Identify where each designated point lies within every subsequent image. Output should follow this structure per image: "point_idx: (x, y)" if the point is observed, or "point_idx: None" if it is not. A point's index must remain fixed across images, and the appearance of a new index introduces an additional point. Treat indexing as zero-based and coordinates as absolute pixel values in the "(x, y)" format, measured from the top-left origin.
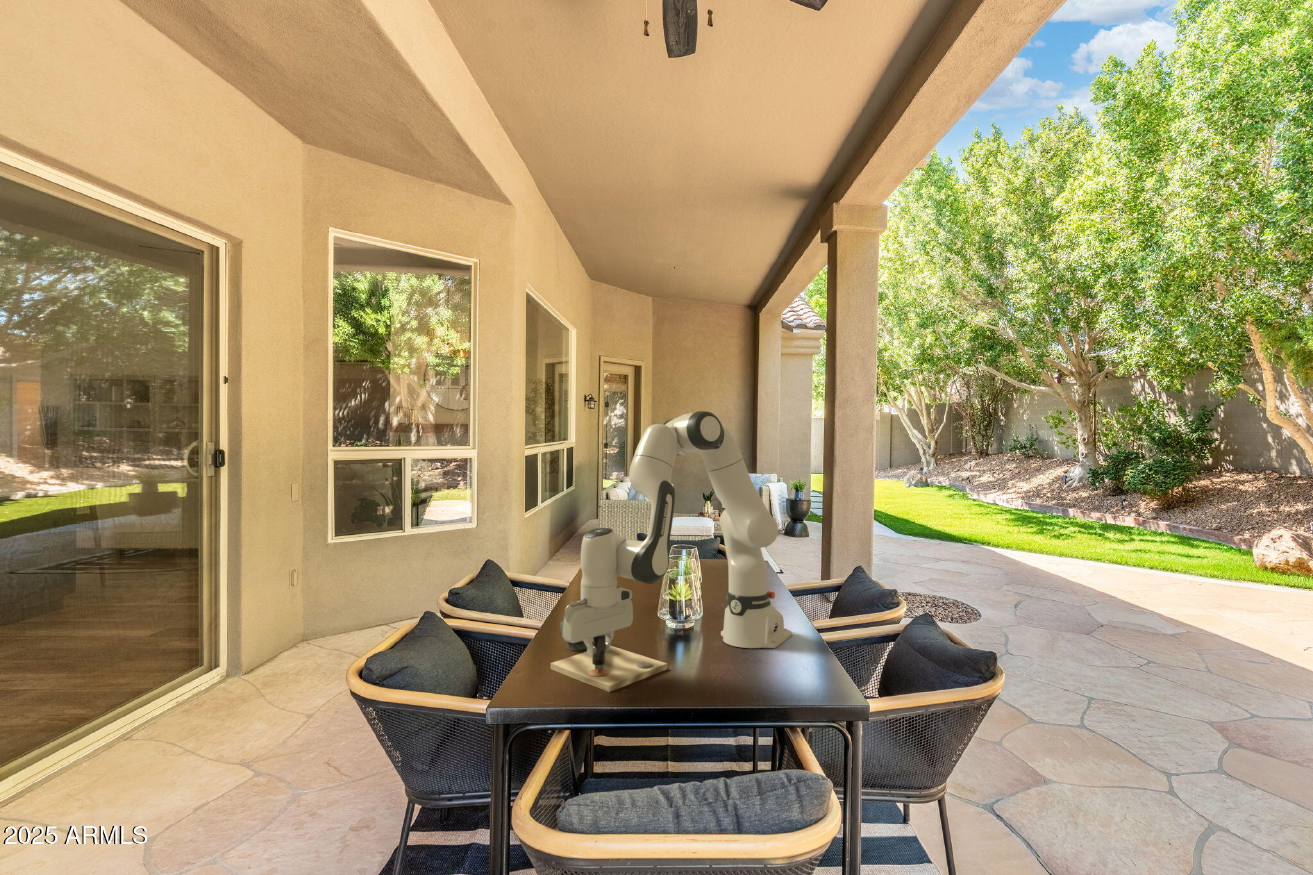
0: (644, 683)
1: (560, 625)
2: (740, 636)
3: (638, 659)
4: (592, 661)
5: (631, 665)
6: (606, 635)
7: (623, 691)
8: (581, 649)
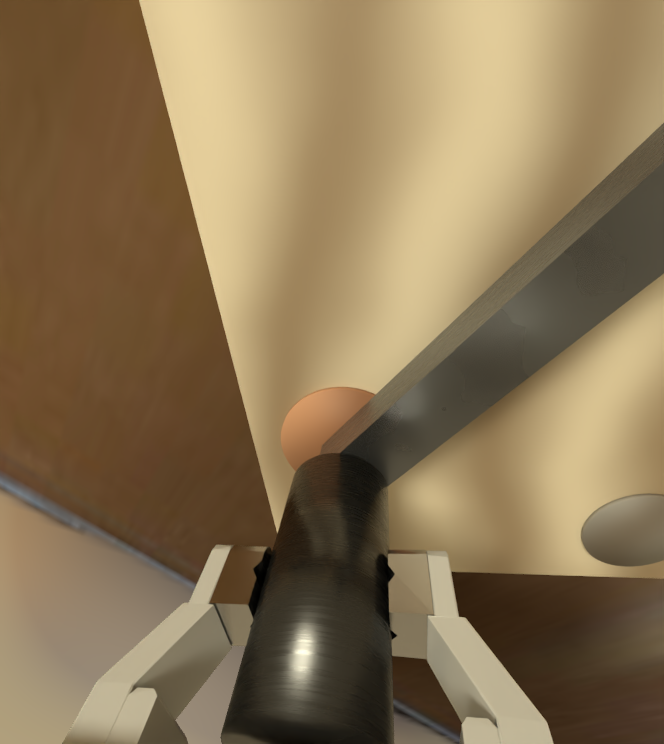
0: (473, 572)
1: None
2: None
3: None
4: (292, 482)
5: (590, 481)
6: (482, 704)
7: None
8: None
